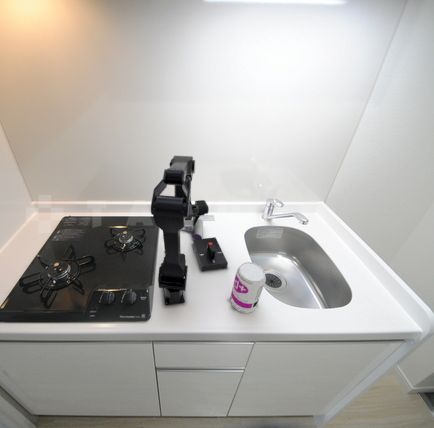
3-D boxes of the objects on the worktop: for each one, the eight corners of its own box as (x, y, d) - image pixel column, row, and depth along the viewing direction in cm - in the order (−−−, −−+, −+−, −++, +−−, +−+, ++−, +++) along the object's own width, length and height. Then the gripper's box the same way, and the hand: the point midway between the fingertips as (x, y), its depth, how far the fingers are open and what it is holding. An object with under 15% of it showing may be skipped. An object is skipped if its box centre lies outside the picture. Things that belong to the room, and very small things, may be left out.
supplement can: (238, 317, 64) (247, 286, 55) (225, 294, 70) (232, 263, 62) (261, 310, 66) (273, 279, 57) (246, 288, 72) (255, 258, 64)
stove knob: (214, 257, 80) (215, 250, 78) (210, 258, 80) (211, 250, 78) (210, 249, 84) (211, 242, 82) (207, 250, 84) (208, 242, 82)
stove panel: (226, 268, 80) (228, 262, 78) (201, 271, 79) (202, 265, 77) (214, 242, 92) (215, 236, 90) (192, 244, 91) (193, 239, 89)
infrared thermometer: (172, 225, 104) (202, 225, 102) (169, 241, 94) (203, 242, 92) (171, 218, 101) (203, 218, 100) (168, 233, 91) (203, 234, 90)
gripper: (157, 205, 66) (159, 242, 74) (215, 201, 68) (210, 237, 76) (155, 189, 75) (157, 223, 83) (206, 185, 77) (203, 220, 86)
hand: (182, 226), depth 82 cm, fingers open, 9 cm apart
